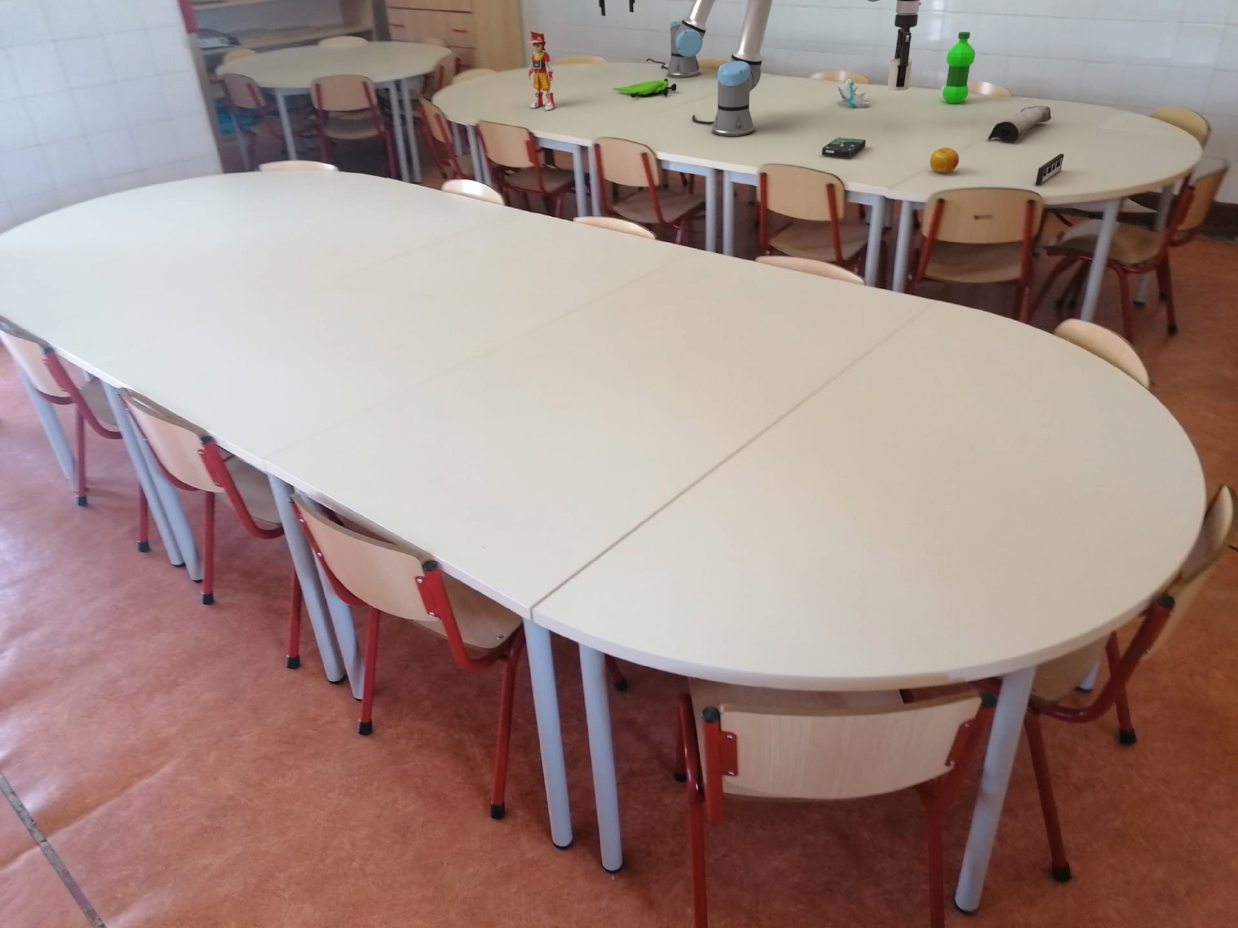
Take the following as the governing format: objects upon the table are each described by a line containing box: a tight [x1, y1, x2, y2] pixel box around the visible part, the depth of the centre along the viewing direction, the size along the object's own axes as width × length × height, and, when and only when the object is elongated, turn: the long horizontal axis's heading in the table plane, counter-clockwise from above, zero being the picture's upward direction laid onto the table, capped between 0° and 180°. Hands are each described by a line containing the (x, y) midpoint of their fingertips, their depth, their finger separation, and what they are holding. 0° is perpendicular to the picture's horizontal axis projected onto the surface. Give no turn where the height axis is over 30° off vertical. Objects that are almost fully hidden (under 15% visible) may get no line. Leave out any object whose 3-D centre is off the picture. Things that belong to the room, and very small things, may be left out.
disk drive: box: [821, 136, 867, 159], centre depth 307 cm, size 10×3×15 cm
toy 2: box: [612, 78, 677, 99], centre depth 396 cm, size 28×5×30 cm
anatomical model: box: [837, 78, 871, 108], centre depth 358 cm, size 15×10×10 cm
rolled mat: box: [987, 105, 1052, 144], centre depth 315 cm, size 30×9×10 cm
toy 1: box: [527, 31, 556, 111], centre depth 374 cm, size 12×9×30 cm
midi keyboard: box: [1035, 153, 1065, 186], centre depth 273 cm, size 18×1×5 cm, turn 138°
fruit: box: [929, 147, 960, 174], centre depth 283 cm, size 8×8×8 cm
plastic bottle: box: [942, 31, 976, 104], centre depth 348 cm, size 10×10×25 cm
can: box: [887, 58, 913, 92], centre depth 319 cm, size 7×7×9 cm
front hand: (898, 84), depth 321 cm, fingers closed on can, 7 cm apart
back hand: (617, 14), depth 394 cm, fingers open, 13 cm apart
